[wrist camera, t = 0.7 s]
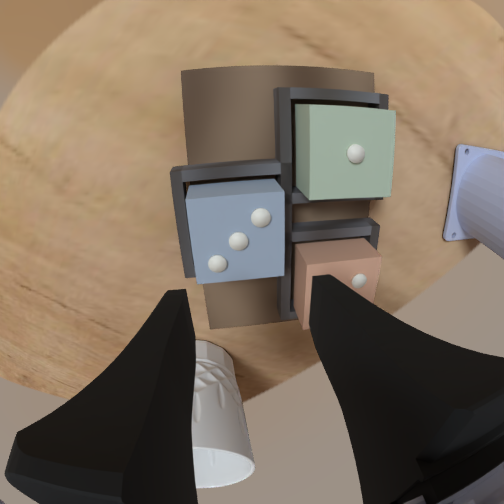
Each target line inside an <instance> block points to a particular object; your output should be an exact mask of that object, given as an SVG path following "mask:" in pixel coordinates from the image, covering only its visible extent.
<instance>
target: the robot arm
mask: <svg viewBox="0 0 504 504" xmlns="http://www.w3.org/2000/svg"><path fill="white" fill-rule="evenodd" d="M465 150H466V153H465ZM452 234H453V235H452ZM443 238H444V239H445V240H446V241H454V240H462V239H471V238H476V239H477V240H478V241H480V242H481V243H483V244H484V245H485V246H487V247H488V248H490V249H491V250H492V251H493V252H495V253H496V254H497V255H499V256H500V257H501V258H503V259H504V152H503V151H498V150H493V149H487V148H482V147H476V146H470V145H464V144H459V145H457V147H456V154H455V164H454V173H453V181H452V188H451V195H450V201H449V207H448V213H447V218H446V223H445V229H444V233H443ZM309 327H310V330H311V334H312V338H313V341H314V344H315V348H316V350H317V353H318V355H319V357H320V359H321V362H322V364H323V366H324V369H325V371H326V373H327V375H328V378H329V380H330V382H331V384H332V387H333V389H334V391H335V394H336V396H337V398H338V401H339V404H340V406H341V409H342V412H343V415H344V419H345V422H346V426H347V429H348V432H349V437H350V441H351V444H352V448H353V453H354V457H355V461H356V466H357V471H358V475H359V480H360V485H361V492H362V498H363V504H504V358H503V357H498V356H493V355H488V354H483V353H480V352H476V351H473V350H469V349H466V348H462V347H460V346H456V345H453V344H451V343H448V342H446V341H443V340H440V339H438V338H435V337H433V336H431V335H429V334H426V333H424V332H422V331H420V330H418V329H416V328H414V327H412V326H410V325H408V324H406V323H404V322H402V321H401V320H399V319H397V318H395V317H394V316H392V315H390V314H389V313H387V312H385V311H384V310H382V309H381V308H379V307H377V306H376V305H374V304H373V303H371V302H370V301H368V300H367V299H365V298H364V297H362V296H361V295H360V294H358V293H357V292H355V291H354V290H352V289H351V288H350V287H348V286H347V285H345V284H344V283H342V282H341V281H340V280H338V279H337V278H335V277H334V276H332V275H330V274H326V275H318V276H312V288H311V301H310V313H309ZM195 371H196V340H195V332H194V327H193V322H192V318H191V313H190V308H189V302H188V297H187V292H186V289H180V290H168V291H167V292H166V293H165V294H164V296H163V297H162V299H161V300H160V302H159V303H158V305H157V306H156V307H155V309H154V310H153V312H152V313H151V315H150V316H149V318H148V319H147V320H146V322H145V323H144V324H143V326H142V327H141V328H140V330H139V331H138V332H137V334H136V335H135V336H134V338H133V339H132V340H131V341H130V342H129V344H128V345H127V346H126V347H125V349H124V350H123V351H122V352H121V353H120V354H119V356H118V357H117V358H116V359H115V360H114V361H113V362H112V363H111V364H110V365H109V366H108V367H107V368H106V369H105V370H104V371H103V372H102V373H101V374H100V375H99V376H98V377H97V378H95V379H94V380H93V381H92V382H91V383H90V384H88V385H87V386H86V387H85V388H84V389H83V390H82V391H80V392H79V393H78V394H77V395H75V396H74V397H73V398H71V399H70V400H69V401H67V402H66V403H65V404H63V405H62V406H60V407H59V408H58V409H56V410H55V411H53V412H52V413H50V414H48V415H47V416H45V417H44V418H42V419H40V420H39V421H37V422H35V423H33V424H31V425H30V426H28V427H26V428H24V429H23V430H21V431H18V432H17V434H16V437H15V440H14V443H13V446H12V449H11V453H10V456H9V459H8V463H7V466H6V470H5V477H6V479H7V480H8V482H9V483H10V484H11V485H12V486H14V487H15V488H17V489H18V490H19V491H21V492H22V493H23V494H25V495H27V496H28V497H30V498H31V499H33V500H34V501H36V502H37V503H39V504H198V500H197V492H196V483H195V473H194V461H193V446H192V408H193V395H194V383H195ZM0 504H5V503H4V502H3V501H1V500H0Z"/></svg>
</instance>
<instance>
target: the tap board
mask: <svg viewBox="0 0 504 504" xmlns="http://www.w3.org/2000/svg"><path fill="white" fill-rule="evenodd" d="M181 81H182V97H183V111H184V124H185V136H186V147H187V158H188V165H185V166H176V167H173V168H172V169H171V171H170V178H171V186H172V194H173V202H174V209H175V216H176V223H177V230H178V237H179V243H180V249H181V255H182V261H183V267H184V273H185V278H192V277H196V273H195V267H194V260H193V253H192V246H191V239H190V232H189V224H188V217H187V209H186V201H185V199H186V196H187V191H186V182H188V181H190V185H200V184H210V183H221V182H233V181H246V180H260V179H275V180H276V181H277V183H278V184H279V185H280V186H281V188H282V189H283V190H284V197H285V255H284V276H277V277H267V278H258V279H248V280H238V281H227V282H217V283H206V284H203V288H204V295H205V301H206V307H207V314H208V320H209V326H210V329H220V328H231V327H240V326H250V325H259V324H267V323H276V322H284V321H291V320H299V319H298V316H297V314H296V311H295V308H294V306H293V303H294V275H295V244H302V243H313V242H324V241H335V240H346V239H358V238H365V239H366V240H367V241H368V242H369V243H370V245H371V246H372V247H373V248H374V249H375V250H376V251H377V244H378V237H379V230H380V225H379V224H377V223H376V222H375V221H374V220H373V219H371V218H370V217H369V218H368V215H369V204H370V200H383V197H369V198H344V199H323V200H309V199H308V198H307V197H306V196H305V195H304V194H303V193H302V192H301V191H300V190H299V189H298V188H297V187H296V124H295V104H311V105H337V106H352V107H365V108H376V109H385V110H388V95H387V94H379V93H374V73H370V72H363V71H355V70H346V69H336V68H324V67H308V66H231V67H216V68H203V69H193V70H184V71H181Z"/></svg>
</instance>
